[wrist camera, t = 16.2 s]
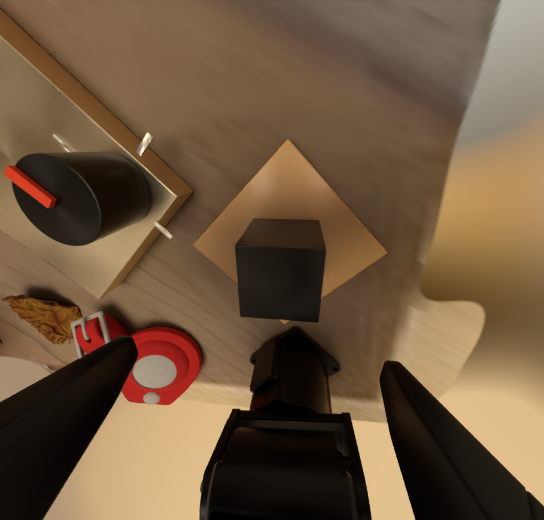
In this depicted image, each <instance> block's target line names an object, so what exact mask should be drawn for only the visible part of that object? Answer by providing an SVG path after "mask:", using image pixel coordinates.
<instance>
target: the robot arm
mask: <svg viewBox="0 0 544 520" xmlns="http://www.w3.org/2000/svg"><path fill="white" fill-rule="evenodd" d="M295 333H297V334H295ZM137 358H138V349H137V346H136V344H135V341H134V339H133V337H131V336H119V337H117V338H115V339H114V340H112V341H110V342H108V343H106V344H105V345H103V346H101V347H99V348H97V349H95V350H94V351H92V352H90V353H88V354H86V355H85V356H83V357H81V358H79V359H77V360H76V361H74V362H72V363H70V364H68V365H67V366H65V367H63V368H61V369H59V370H57V371H56V372H54V373H52V374H50V375H49V376H47V377H45V378H43V379H42V380H39V381H38V382H36V383H34V384H32V385H30V386H29V387H27V388H25V389H23V390H21V391H19V392H18V393H16V394H14V395H12V396H11V397H9V398H7V399H5V400H3V401H2V402H0V520H43V519H44V517H45V515H46V514H47V512H48V510H49V509H50V507H51V506H52V504H53V502H54V501H55V499H56V497H57V496H58V494H59V493H60V491H61V489H62V488H63V486H64V484H65V483H66V481H67V480H68V478H69V476H70V475H71V473H72V472H73V470H74V468H75V467H76V465H77V463H78V462H79V460H80V459H81V457H82V455H83V454H84V452H85V450H86V449H87V447H88V446H89V444H90V442H91V441H92V439H93V437H94V436H95V434H96V433H97V431H98V429H99V428H100V426H101V424H102V423H103V421H104V420H105V418H106V416H107V415H108V413H109V411H110V410H111V408H112V407H113V405H114V403H115V401H116V399H117V398H118V396H119V394H120V392H121V390H122V388H123V386H124V384H125V382H126V380H127V378H128V376H129V374H130V372H131V370H132V368H133V366H134V364H135V362H136V360H137ZM250 362H251V363H252V364H253V365H254V371H253V375H252V380H251V385H250V391H251V392H252V393H253V395H252V400H251V405H250V410H249V411H245V410H240V409H232V412H231V414H230V416H229V419H228V420H227V422H226V424H225V426H224V429H223V431H222V433H221V436H220V438H219V440H218V442H217V445H216V447H215V449H214V451H213V454H212V456H211V458H210V461H209V463H208V465H207V467H206V470H205V472H204V476H203V480H202V483H201V488H200V491H201V501H200V520H372V519H371V511H370V504H369V499H368V492H367V487H366V482H365V477H364V472H363V468H362V464H361V459H360V455H359V451H358V446H357V442H356V438H355V434H354V429H353V425H352V421H351V417H350V413H343V412H342V414H332V408H331V399H330V391H329V382H328V377H329V376H331V375H333V374H335V373H337V372H339V371H340V370H341V368H340V364H339V363H338V362H337V361H336V360H335V359H334V358H333V357H331V356H330V355H329V354H328V353H327V352H326V351H325V350H323V349H322V348H321V347H320V346H319V345H318V344H317V343H316V342H314V341H313V340H312V339H311V338H310V337H309V336H308V335H306V334H305V333H304V332H303V331H302V330H301V329H299V328H297V327H294V328H292V329H290V330H289V331H287V332H286V333H284V334H283V335H281V336H280V337H278V338H276V339H274V340H272V341H271V342H269V343H268V344H266V345H265V346H263V347H262V348H260V349H259V350H258V351H257V352H256V353H254V354H253V355H252V356H251V358H250ZM380 387H381V392H382V397H383V402H384V407H385V412H386V417H387V422H388V427H389V432H390V436H391V440H392V443H393V446H394V450H395V453H396V457H397V460H398V463H399V467H400V470H401V473H402V476H403V480H404V483H405V487H406V490H407V493H408V496H409V500H410V503H411V506H412V510H413V513H414V516H415V520H544V506H543V505H542V504H541V503H540V502H539V501H538V500H537V499H536V498H535V497H534V496H533V495H532V494H531V493H530V492H528V491H526V489H525V487H524V486H523V485H522V484H521V483H520V482H519V481H518V480H517V479H516V478H515V477H514V476H513V475H512V474H511V473H510V472H509V471H508V470H507V469H506V468H505V467H504V466H503V465H502V464H501V463H500V462H499V461H498V460H497V459H496V458H495V457H494V456H493V455H492V454H491V453H490V452H489V451H488V450H487V449H486V448H485V447H484V446H483V445H482V444H481V443H480V442H479V441H478V440H477V439H476V438H475V437H474V436H473V435H472V434H471V433H470V432H469V431H468V430H467V429H466V428H465V427H464V426H463V425H462V424H461V423H460V422H459V421H458V420H457V419H456V418H455V417H454V416H453V415H452V414H451V413H450V412H449V411H448V410H447V409H446V408H445V407H444V406H443V405H442V404H441V403H440V402H439V401H438V400H437V399H436V398H435V397H434V396H433V395H432V394H431V393H430V392H429V391H428V390H427V389H426V388H425V387H424V386H423V385H422V384H421V383H420V382H419V381H418V380H417V379H416V378H415V377H414V376H413V375H412V374H411V373H410V372H409V371H408V370H407V369H406V368H405V367H404V366H403V365H402V364H401V363H400V362H397V361H388V360H387V361H385V362H384V365H383V368H382V371H381V375H380Z"/></svg>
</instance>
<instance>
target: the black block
mask: <svg viewBox="0 0 544 520" xmlns="http://www.w3.org/2000/svg"><path fill="white" fill-rule="evenodd" d="M235 257H236V269H237V281H238V293H239V305H240V316H241V317H252V318H265V319H278V320H292V321H305V322H319V314H320V305H321V296H322V286H323V277H324V268H325V259H326V246H325V242H324V238H323V233H322V229H321V225H320V221H319V220H301V219H264V218H253V220H252V221H251V223H250V224H249V226H248V227H247V228H246V230H245V231H244V233H243V234H242V236H241V237H240V239H239V240H238V241H237V243H236V244H235Z"/></svg>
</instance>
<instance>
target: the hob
mask: <svg viewBox="0 0 544 520" xmlns="http://www.w3.org/2000/svg"><path fill="white" fill-rule="evenodd" d="M153 138H154V137H153V136H152V135H151V134H150V133H149V132H147V133H146V135H145V137H144V138H143V140H142V141H141V140H140V139H139V138H138V137H137V136H135V135H134V134H133V133H132V132H131V131H130V130H129V129H128V128H127V127H126V126H125V125H124V124H123V123H122V122H121V121H119V120H118V119H117V118H116V117H115V116H114V115H113V114H112V113H111V112H110V111H109V110H108V109H107V108H106V107H105V106H104V105H102V104H101V103H100V102H99V101H98V100H97V99H96V98H95V97H94V96H93V95H92V94H91V93H90V92H89V91H88V90H86V89H85V88H84V87H83V86H82V85H81V84H80V83H79V82H78V81H77V80H76V79H75V78H74V77H73V76H72V75H70V74H69V73H68V72H67V71H66V70H65V69H64V68H63V67H62V66H61V65H60V64H59V63H58V62H57V61H56V60H54V59H53V58H52V57H51V56H50V55H49V54H48V53H47V52H46V51H45V50H44V49H43V48H42V47H41V46H40V45H39V44H37V43H36V42H35V41H34V40H33V39H32V38H31V37H30V36H29V35H28V34H27V33H26V32H25V31H24V30H23V29H21V28H20V27H19V26H18V25H17V24H16V23H15V22H14V21H13V20H12V19H11V18H10V17H9V16H8V15H7V14H5V13H4V12H3V11H2V10H1V9H0V230H2V231H3V232H4V233H6V234H7V235H9V236H10V237H11V238H13V239H14V240H16V241H17V242H18V243H20V244H21V245H23V246H24V247H26V248H27V249H28V250H30V251H31V252H33V253H34V254H35V255H37V256H38V257H40V258H41V259H42V260H44V261H45V262H47V263H48V264H50V265H51V266H52V267H54V268H55V269H57V270H58V271H59V272H61V273H62V274H64V275H65V276H66V277H68V278H69V279H71V280H72V281H74V282H75V283H76V284H78V285H79V286H81V287H82V288H83V289H85V290H86V291H88V292H89V293H90V294H92V295H93V296H95V297H96V298H97V299H101V298H102V297H104V296H105V295H106V294H108V293H109V292H110V291H112V290H113V289H114V288H116V287H117V286H118V285H120V284H121V283H122V281H123V280H124V279H125V278H126V276H127V275H128V274H129V272H130V271H131V270H132V269H133V267H134V266H135V265H136V264H137V262H138V261H139V260H140V258H141V257H142V256H143V255H144V253H145V252H146V251H147V249H148V248H149V247H150V246H151V244H152V243H153V242H154V241H155V239H156V238H157V237H158V235H159V234H160V233H161V232H162V233H163V234H165V235H166V236H167V237H168V238H169V239H172V237H173V236H174V235H173V234H172V233H171V232H170V231H169V230H167V229H166V228H165V227H166V225H167V224H168V223H169V221H170V220H171V219H172V218H173V216H174V215H175V214H176V212H177V211H178V210H179V209H180V207H181V206H182V205H183V204H184V202H185V201H186V200H187V198H188V197H189V196H190V195H191V193H192V192H193V191H194V190H193V189H192V188H191V187H190V186H189V185H188V184H187V183H186V182H184V181H183V180H182V179H181V178H180V177H179V176H178V175H177V174H176V173H175V172H174V171H173V170H172V169H171V168H170V167H169V166H167V165H166V164H165V163H164V162H163V161H162V160H161V159H160V158H159V157H158V156H157V155H156V154H155V153H154V152H153V151H151V150H150V149H149V148H148V146H149V145H150V143H151V141H152V140H153ZM60 152H112V153H115V154H118V155H120V156H122V157H124V158H126V159H127V160H129V161H130V162H131V163H133V164H134V165H135V166H136V167H137V168H138V170H139V171H140V172H141V174H142V175H143V177H144V178H145V180H146V182H147V185H148V188H149V192H150V207H149V210H148V212H147V214H146V216H145V217H144V218H143V219H142V220H141V221H139V222H137V223H135V224H133V225H130V226H128V227H126V228H124V229H121V230H119V231H117V232H115V233H113V234H110V235H108V236H106V237H104V238H101V239H99V240H97V241H95V242H93V243H90V244H88V245H84V246H70V245H65V244H62V243H59V242H57V241H55V240H53V239H51V238H49V237H48V236H46V235H45V234H43V233H42V232H41V231H39V230H38V229H37V228H36V227H35V226H34V225H33V224H32V223H31V222H30V221H29V220H28V218H27V217H26V216H25V215H24V213H23V212H22V210H21V208H20V207H19V205H18V203H17V201H16V198H15V196H14V193H13V188H12V181H11V180H10V179H9V178H7V177H6V176H5V175H4V174H5V170H6V167H7V166H11V165H14V166H15V164H16V163H17V161H18V160H20V159H21V158H22V157H24V156H26V155H28V154H32V153H60Z"/></svg>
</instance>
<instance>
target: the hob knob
mask: <svg viewBox="0 0 544 520" xmlns="http://www.w3.org/2000/svg"><path fill="white" fill-rule="evenodd" d="M4 175H5V176H6V177H7V178H9V179H10V180H11V181H12V188H13V193H14V196H15V198H16V201H17V203H18V205H19V207H20V208H21V210H22V212H23V213H24V215H25V216H26V217H27V218H28V220H29V221H30V222H31V223H32V224H33V225H34V226H35V227H36V228H37V229H38V230H39V231H41V232H42V233H43V234H45V235H46V236H48V237H49V238H51V239H53V240H55V241H57V242H59V243H62V244H65V245H70V246H84V245H88V244H90V243H93V242H95V241H97V240H99V239H101V238H104V237H106V236H108V235H110V234H113V233H115V232H117V231H119V230H121V229H124V228H126V227H128V226H130V225H133V224H135V223H137V222H139V221H141V220H142V219H143V218H144V217H145V216H146V214H147V212H148V210H149V207H150V192H149V188H148V185H147V182H146V180H145V178H144V177H143V175H142V174H141V172H140V171H139V170H138V168H137V167H136V166H135V165H134V164H133V163H131V162H130V161H129V160H127V159H126V158H124V157H122V156H120V155H118V154H115V153H112V152H60V153H32V154H28V155H26V156H24V157H22V158H21V159H20V160H18V161H17V163H16V164H15V166H14V165H11V166H7V167H6V170H5V174H4Z"/></svg>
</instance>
